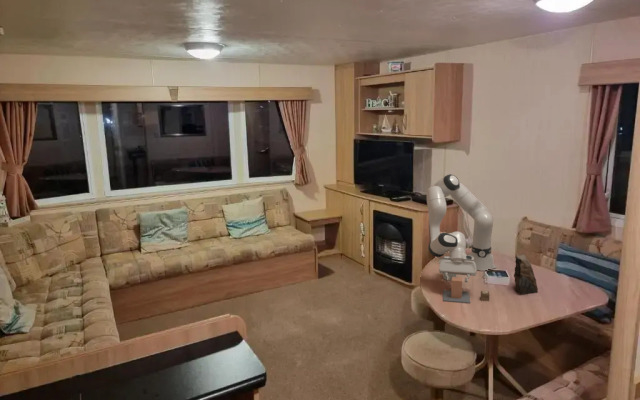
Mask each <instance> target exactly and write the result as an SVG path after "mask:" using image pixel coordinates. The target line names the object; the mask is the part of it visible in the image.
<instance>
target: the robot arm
mask: <svg viewBox="0 0 640 400" xmlns="http://www.w3.org/2000/svg"><path fill="white" fill-rule="evenodd" d="M448 196H450V197H451V198H452V199H453V201H454V202H456V204H457V205H458V206H459V207H460V208H461V210H463V211H464V212H465V213H466V214H467V215H469V216H470V217H471V218H472V219H473V221H474V222H473V223H474V224H473V232H472V233H473V234H472V245H471V252H470V253H468V254H467V253H466V249H467V240H466V236H465V234H464V233H463V232H461V231H457V230H456V231H453V232H449V233H447V232H442V233H441V229H440V227H441V223H442V221H443V219H444V217H445V216H446V215H447V214H446V213H447V210H448V209H447V207H448V206H447V201H446V198H447V197H448ZM426 206H427V213H428V232H429V233H428V234H429V243H428V248H427V249H428V251H429V253H430V254H431V255H432V256H433V257H436V258H439V259H438V264H439V266H438V272H439V273H440V274H442V275H443V274H445V276H446V277H447V280H446V281H447V282H450V281H451V280H450V277H448V274H456V276H458V275H459V276H460V275H461V276H466V278H464V283H468V282H469V279H470V277H471V276H472V277H474V276H476V275H477V274H478V273H477V271H485V270H487V271H489V270H488V269H491V270H493V269H497V266H496V265H495V264H494V255H493V254H492V234H493V227H494V216H493V215H492V213H491V210H490V209H489V208H488V207H486V205H485V204H483V203H482V202H481V201H480V200H479V199H478V198H477V197H476V196H475V195H474V194H473V192H471V191H470V190H469V188H468V187H466V185H464V184H463V183H462V182H460V180H459V179H458V177H457V176H456V175H454V174H449V173H448V174H447V175H445V176H443V177H442V178H440V179H439V180H437V182H435V183H434V184H433V185H431V186H430V187H428V189H427V190H426ZM447 252H449V257H450V258H444V256H445V254H446V253H447ZM485 272H486V271H485Z"/></svg>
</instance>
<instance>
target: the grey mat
mask: <svg viewBox="0 0 640 400" xmlns="http://www.w3.org/2000/svg"><path fill="white" fill-rule="evenodd" d="M451 292H452V289H449V290H448V289H442V301H443V302H448V303H449V302H450V303H458V304H459V303H461V304H471V299H470V292H469V291H465V290H462V298H452V297H451Z"/></svg>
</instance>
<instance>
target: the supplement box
mask: <svg viewBox="0 0 640 400" xmlns="http://www.w3.org/2000/svg"><path fill="white" fill-rule="evenodd" d="M443 258H450V256H445V255H443ZM442 276H443V279H444V280H446V281H447V277H446V276H445V274H443V273H442ZM448 277H450V281H452V277H457V274H448Z"/></svg>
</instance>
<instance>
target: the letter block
mask: <svg viewBox="0 0 640 400" xmlns="http://www.w3.org/2000/svg"><path fill="white" fill-rule="evenodd" d="M480 300H481V301H482V302H490V291H487V290H480Z"/></svg>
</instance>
